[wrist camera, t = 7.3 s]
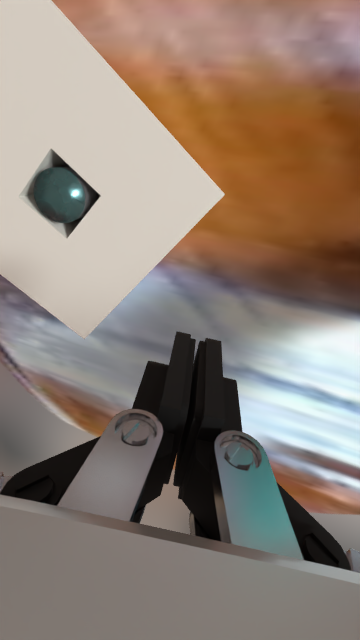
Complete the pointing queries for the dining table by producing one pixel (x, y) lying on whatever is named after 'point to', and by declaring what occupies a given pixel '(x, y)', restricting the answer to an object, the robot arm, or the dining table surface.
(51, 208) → the peg
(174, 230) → the block
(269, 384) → the dining table surface
